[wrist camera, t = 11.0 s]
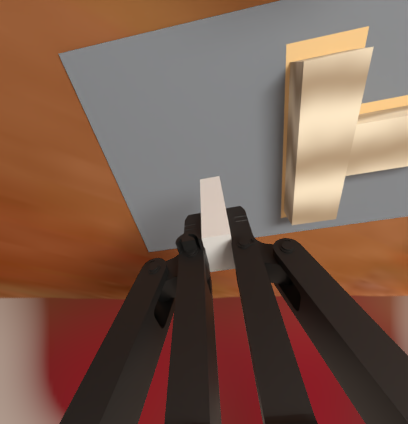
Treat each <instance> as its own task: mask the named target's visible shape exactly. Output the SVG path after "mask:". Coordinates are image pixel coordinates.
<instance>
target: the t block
mask: <svg viewBox="0 0 408 424" xmlns="http://www.w3.org/2000/svg"><path fill="white" fill-rule="evenodd" d="M373 48H374V47H368V48H360V49H352V50H346V51H341V52H337V53H332V54H327V55H322V56H318V57H313V58H308V59H303V60H299V61H294V62H290V79H289V102H288V125H287V148H286V171H285V194H284V212H285V214H286V216H287V218H288V219H289V221H290V223H291V225H297V224H305V223H312V222H319V221H326V220H333V219H336V217H337V212H338V208H339V203H340V199H341V194H342V190H343V185H344V180H345V176H349V175H355V174H362V173H368V172H374V171H381V170H387V169H393V168H400V167H406V166H408V105H407V106H401V107H396V108H390V109H385V110H379V111H374V112H369V113H363V114H359V112H360V107H361V103H362V98H363V94H364V89H365V84H366V80H367V75H368V71H369V66H370V62H371V57H372V52H373Z"/></svg>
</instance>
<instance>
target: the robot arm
mask: <svg viewBox="0 0 408 424" xmlns="http://www.w3.org/2000/svg"><path fill="white" fill-rule="evenodd" d="M200 198H201V213H197V214H191V215H188V216H187V218H186V219H185V224H184V226H185V227H184V234H182V235H180V236H179V237H178V238H177V239H176V242H175V243H176V246H177V249H178V252H179V255H177V256H176V257H174V258H172V259H170V260H168V261H164V260H163V259H160V258H155V259H152V260H149V261H148V262H147V263H145V265H144V266H143V267H142V269H141V271H140V273H139V275H138V277H137V278H136V280H135V282H134V284H133V286H132V288H131V290H130V292H129V294H128V295H127V297H126V299H125V301H124V303H123V305H122V307H121V309H120V311H119V312H118V314H117V316H116V318H115V320H114V322H113V324H112V326H111V328H110V329H109V331H108V333H107V335H106V337H105V339H104V341H103V343H102V345H101V347H100V348H99V350H98V352H97V354H96V356H95V358H94V360H93V361H92V364H91V365H90V367H89V369H88V371H87V373H86V375H85V377H84V379H83V381H82V382H81V384H80V386H79V388H78V390H77V392H76V394H75V395H74V397H73V399H72V401H71V403H70V405H69V407H68V409H67V411H66V412H65V414H64V416H63V418H62V420H61V422H60V424H138V421H139V418H140V415H141V412H142V409H143V406H144V403H145V399H146V397H147V393H148V390H149V387H150V384H151V381H152V378H153V375H154V372H155V368H156V366H157V362H158V359H159V356H160V353H161V350H162V347H163V344H164V341H165V338H166V335H167V332H168V329H169V325H170V322H171V319H172V316H173V313H174V320H173V332H172V343H171V355H170V366H169V377H168V389H167V401H166V412H165V424H221V412H220V397H219V383H218V368H217V355H216V340H215V325H214V312H213V297H212V282H211V277H210V272H213V271H220V270H228V269H236V276H237V283H238V287H239V293H240V298H241V303H242V309H243V314H244V320H245V326H246V331H247V336H248V342H249V348H250V353H251V359H252V364H253V370H254V375H255V381H256V386H257V392H258V397H259V403H260V408H261V414H262V419H263V424H318V423H317V421H316V419H315V416H314V413H313V410H312V407H311V404H310V401H309V398H308V395H307V392H306V389H305V386H304V383H303V380H302V377H301V374H300V371H299V367H298V364H297V362H296V358H295V355H294V352H293V350H292V346H291V343H290V340H289V338H288V334H287V331H286V328H285V325H284V322H283V319H282V316H281V313H280V310H279V307H278V304H277V301H276V298H275V295H274V291H273V288H272V285H271V283H274V284H275V286H276V288H277V289H278V291H279V292H280V294H281V295H282V297H283V298H284V300H285V301H286V303H287V304H288V306H289V307H290V309H291V310H292V312H293V313H294V315H295V316H296V318H297V319H298V321H299V323H300V324H301V326H302V327H303V329H304V330H305V332H306V333H307V335H308V336H309V338H310V339H311V341H312V342H313V344H314V345H315V347H316V349H317V350H318V352H319V353H320V355H321V356H322V358H323V359H324V361H325V362H326V364H327V365H328V367H329V368H330V370H331V371H332V373H333V374H334V376H335V378H336V379H337V381H338V382H339V384H340V385H341V387H342V388H343V390H344V391H345V393H346V394H347V396H348V397H349V399H350V400H351V402H352V404H353V405H354V406H355V408H356V410H357V411H358V413H359V414H360V416H361V417H362V419H363V420H364V422H365V423H366V424H408V356H407V355H406V354H405V352H404V351H403V350H402V349H401V348H400V347H399V346H398V345H397V344H396V343H395V342H394V341H393V340H392V339H391V338H390V337H389V336H388V335H387V334H386V333H385V332H384V331H383V330H382V329H381V328H380V326H379V325H378V324H377V323H376V322H375V321H374V320H373V319H372V318H371V317H370V316H369V315H368V314H367V313H366V312H365V311H364V310H363V309H362V308H361V307H360V306H359V305H358V304H357V303H356V302H355V300H354V299H353V298H352V297H351V296H350V295H349V294H348V293H347V292H346V291H345V290H344V289H343V288H342V287H341V286H340V285H339V284H338V283H337V282H336V281H335V280H334V279H333V278H332V277H331V276H330V274H329V273H328V272H327V271H326V270H325V269H324V268H323V267H322V266H321V265H320V264H319V263H318V262H317V261H316V260H315V259H314V258H313V257H312V256H311V255H310V254H309V253H308V252H307V251H306V250H305V249H304V247H303V246H302V245H301V244H300V243H298V242H297V241H296V240H293V239H289V238H283V239H279V240H277V241H276V242H275V243H274V245H273V244H265V243H261V242H259V241H257V240H256V239H255V238H254V236H253V233H252V230H251V227H250V224H249V221H248V218H247V215H246V212H245V209H243V208H242V207H241V206H236V207H230V208H226V207H225V202H224V197H223V192H222V187H221V182H220V177H219V176H216V177H211V178H205V179H200Z"/></svg>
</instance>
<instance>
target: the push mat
mask: <svg viewBox="0 0 408 424" xmlns="http://www.w3.org/2000/svg"><path fill="white" fill-rule="evenodd" d="M368 47H374V48H373V52H372V57H371V62H370V66H369V71H368V75H367V80H366V84H365V89H364V94H363V98H362V103H361V107H360V112H359V114H363V113H369V112H374V111H379V110H385V109H390V108H396V107H401V106H407V105H408V0H280V1H276V2H272V3H268V4H263V5H259V6H255V7H251V8H247V9H243V10H238V11H234V12H230V13H226V14H222V15H218V16H214V17H209V18H205V19H201V20H197V21H193V22H189V23H184V24H180V25H176V26H172V27H168V28H164V29H160V30H155V31H151V32H147V33H143V34H139V35H135V36H130V37H126V38H122V39H118V40H114V41H110V42H106V43H101V44H97V45H93V46H89V47H85V48H81V49H76V50H72V51H68V52H64V53H60V54H59V56H60V59H61V61H62V63H63V65H64V67H65V69H66V72H67V74H68V76H69V78H70V80H71V83H72V85H73V87H74V89H75V91H76V94H77V96H78V98H79V100H80V102H81V104H82V107H83V109H84V111H85V113H86V115H87V118H88V120H89V122H90V124H91V126H92V129H93V131H94V133H95V135H96V137H97V139H98V142H99V144H100V146H101V148H102V150H103V153H104V155H105V157H106V159H107V161H108V164H109V166H110V168H111V170H112V172H113V174H114V177H115V179H116V181H117V183H118V185H119V188H120V190H121V192H122V194H123V196H124V199H125V201H126V203H127V205H128V207H129V209H130V212H131V214H132V216H133V218H134V220H135V223H136V225H137V227H138V229H139V231H140V234H141V236H142V238H143V240H144V242H145V244H146V247H147V249H148V251H149V252H153V251H161V250H168V249H175V248H177V246H176V243H175V242H176V239H177V238H178V237H179V236H180V235H182V234H184V227H185V226H184V224H185V219H186V218H187V216H188V215H191V214H197V213H201V198H200V179H205V178H211V177H216V176H219V177H220V182H221V187H222V192H223V197H224V202H225V207H226V208H230V207H236V206H241V207H242V208H243V209H245V212H246V215H247V218H248V221H249V224H250V227H251V230H252V233H253V236H254V237H261V236H269V235H276V234H283V233H290V232H297V231H305V230H312V229H319V228H326V227H333V226H341V225H348V224H355V223H362V222H369V221H377V220H384V219H391V218H398V217H405V216H408V166H406V167H400V168H393V169H387V170H381V171H374V172H368V173H362V174H355V175H349V176H345V180H344V185H343V190H342V194H341V199H340V203H339V208H338V212H337V217H336V219H333V220H326V221H319V222H312V223H305V224H297V225H291V223H290V221H289V219H288V218H287V216H286V214H285V212H284V194H285V171H286V148H287V125H288V102H289V79H290V62H294V61H299V60H303V59H308V58H313V57H318V56H322V55H327V54H332V53H337V52H341V51H346V50H352V49H360V48H368Z"/></svg>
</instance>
